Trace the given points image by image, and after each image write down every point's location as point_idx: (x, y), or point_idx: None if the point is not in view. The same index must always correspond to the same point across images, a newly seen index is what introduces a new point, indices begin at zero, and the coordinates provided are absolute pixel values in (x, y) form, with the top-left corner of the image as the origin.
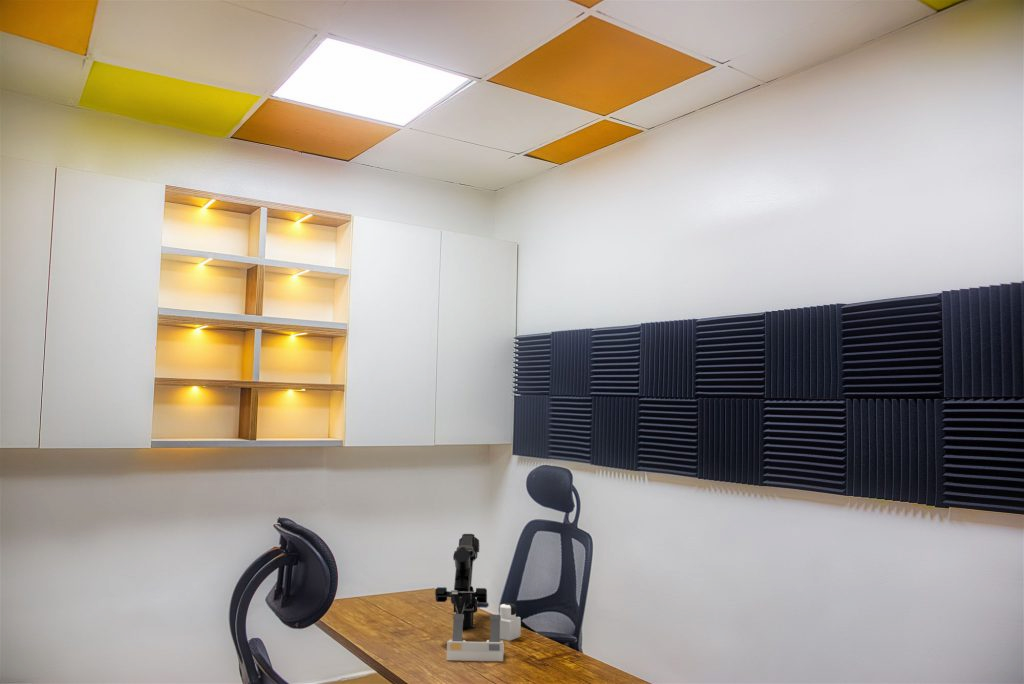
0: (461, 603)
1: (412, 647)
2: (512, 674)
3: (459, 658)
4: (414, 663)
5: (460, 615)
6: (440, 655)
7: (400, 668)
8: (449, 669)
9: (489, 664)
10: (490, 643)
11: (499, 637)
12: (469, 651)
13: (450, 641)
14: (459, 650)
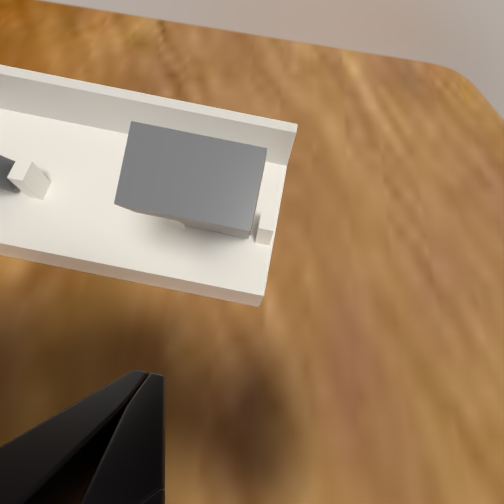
0: (13, 500)
1: (477, 424)
2: (44, 8)
3: None
4: (423, 169)
5: (173, 136)
6: (308, 255)
7: (469, 126)
8: (275, 87)
9: None
10: (35, 74)
11: None
12: None
13: (276, 127)
14: None
